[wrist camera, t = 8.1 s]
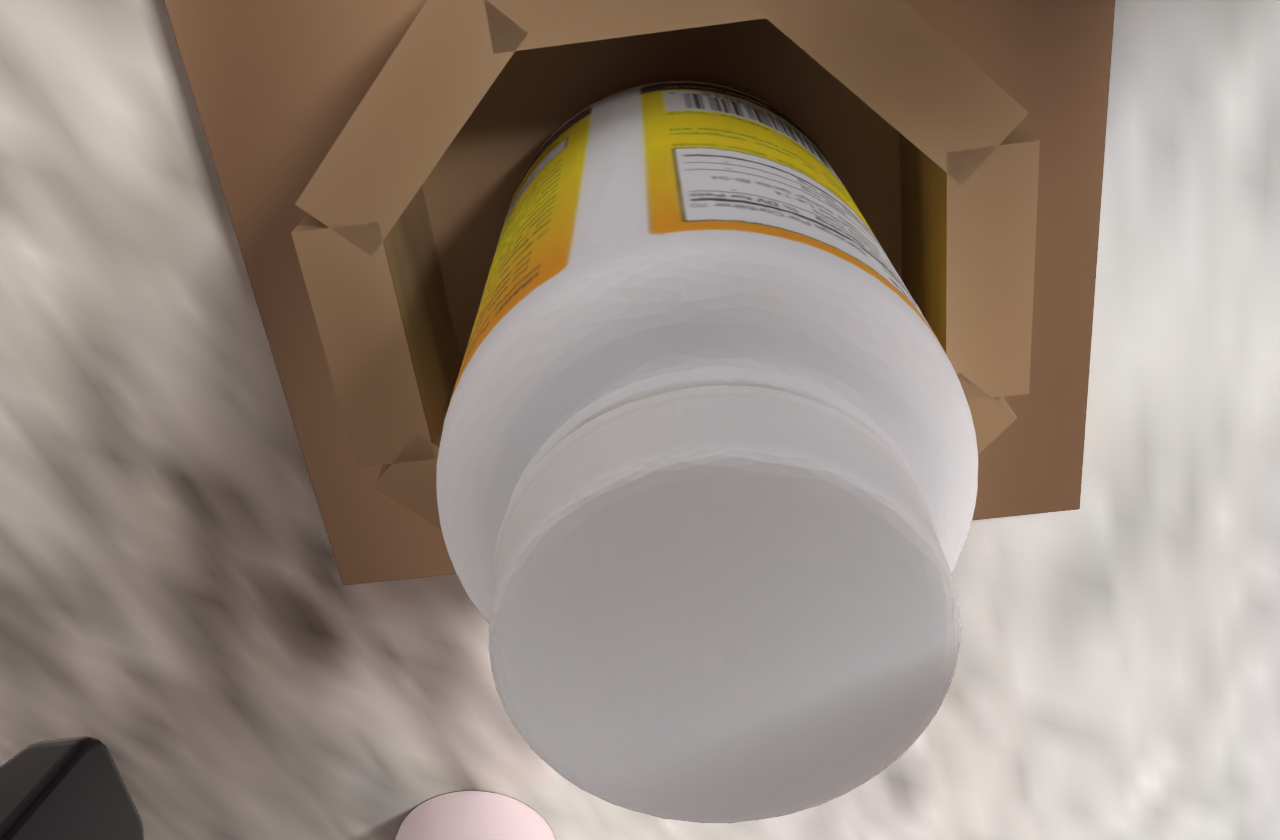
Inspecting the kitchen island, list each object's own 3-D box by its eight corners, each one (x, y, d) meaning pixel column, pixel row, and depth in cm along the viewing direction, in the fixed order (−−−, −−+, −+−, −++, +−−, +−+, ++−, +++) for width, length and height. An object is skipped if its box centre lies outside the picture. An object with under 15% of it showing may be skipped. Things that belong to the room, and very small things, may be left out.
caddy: (1117, -233, 15) (1236, -252, 12) (1070, 494, 21) (1144, 608, 18) (149, -96, 16) (33, -81, 13) (349, 570, 22) (300, 690, 19)
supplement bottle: (563, 427, 20) (505, 934, 11) (460, 124, 17) (269, 456, 8) (873, 354, 19) (1087, 830, 10) (815, 27, 17) (1034, 275, 8)
